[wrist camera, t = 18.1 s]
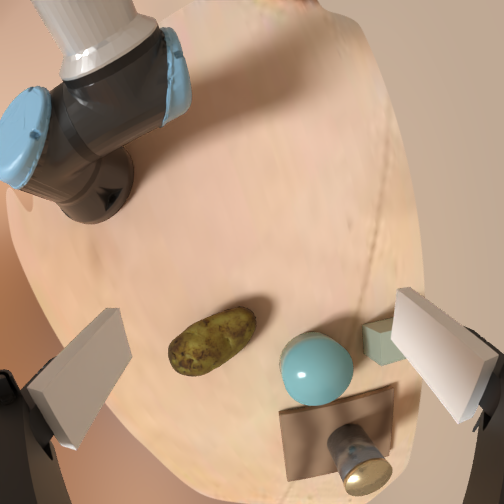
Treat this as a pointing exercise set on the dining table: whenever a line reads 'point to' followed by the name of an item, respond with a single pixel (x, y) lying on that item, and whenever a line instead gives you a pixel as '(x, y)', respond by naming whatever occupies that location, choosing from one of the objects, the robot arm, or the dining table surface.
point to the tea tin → (358, 460)
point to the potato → (211, 341)
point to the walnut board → (327, 421)
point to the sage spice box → (380, 342)
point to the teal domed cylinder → (315, 369)
